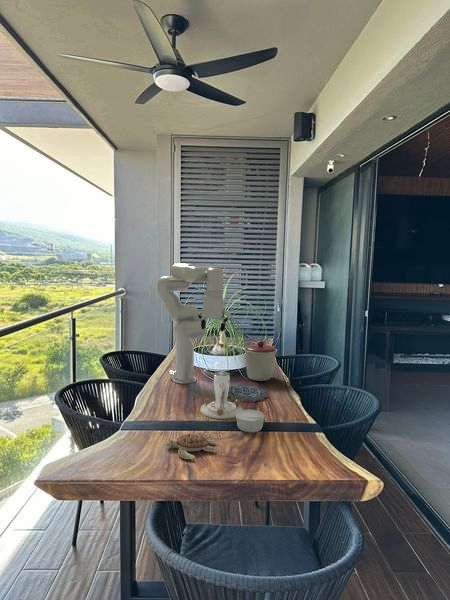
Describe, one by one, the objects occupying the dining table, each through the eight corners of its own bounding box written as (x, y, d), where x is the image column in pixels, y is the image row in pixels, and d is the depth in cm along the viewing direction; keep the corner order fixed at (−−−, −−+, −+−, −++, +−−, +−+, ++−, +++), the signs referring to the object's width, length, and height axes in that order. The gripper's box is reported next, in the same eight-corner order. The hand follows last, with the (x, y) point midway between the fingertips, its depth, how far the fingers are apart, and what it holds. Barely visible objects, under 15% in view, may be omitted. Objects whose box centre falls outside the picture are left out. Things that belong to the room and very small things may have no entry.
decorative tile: (273, 393, 194) (273, 388, 193) (257, 405, 176) (257, 400, 176) (236, 386, 203) (236, 382, 203) (218, 397, 185) (218, 392, 185)
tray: (193, 415, 163) (193, 406, 162) (209, 401, 180) (209, 392, 179) (234, 421, 157) (235, 412, 156) (247, 406, 174) (247, 398, 173)
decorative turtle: (168, 437, 142) (168, 424, 142) (214, 437, 143) (214, 424, 143) (164, 463, 124) (164, 447, 124) (216, 462, 125) (216, 447, 125)
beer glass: (231, 407, 170) (232, 373, 169) (225, 412, 164) (225, 377, 162) (217, 404, 173) (218, 370, 172) (210, 409, 167) (210, 374, 165)
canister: (281, 377, 220) (282, 340, 218) (266, 385, 205) (268, 345, 203) (252, 372, 230) (254, 336, 228) (237, 379, 214) (238, 341, 212)
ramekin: (244, 436, 144) (244, 422, 144) (230, 424, 154) (230, 411, 154) (270, 430, 149) (270, 417, 149) (254, 420, 159) (254, 407, 159)
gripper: (194, 293, 185) (192, 329, 187) (228, 296, 179) (227, 333, 181) (200, 292, 192) (199, 326, 194) (234, 295, 186) (232, 330, 188)
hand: (212, 329), depth 187 cm, fingers open, 9 cm apart
